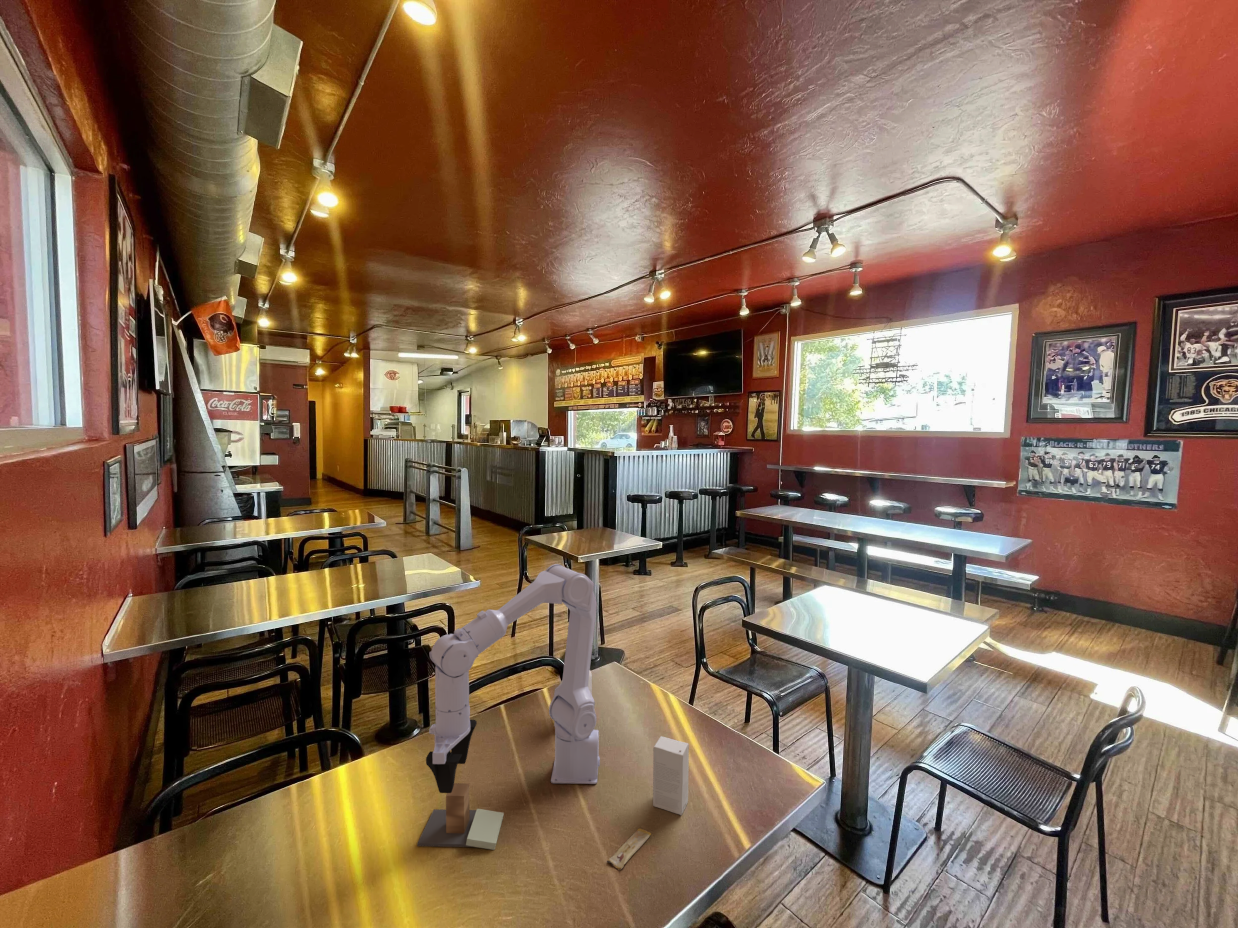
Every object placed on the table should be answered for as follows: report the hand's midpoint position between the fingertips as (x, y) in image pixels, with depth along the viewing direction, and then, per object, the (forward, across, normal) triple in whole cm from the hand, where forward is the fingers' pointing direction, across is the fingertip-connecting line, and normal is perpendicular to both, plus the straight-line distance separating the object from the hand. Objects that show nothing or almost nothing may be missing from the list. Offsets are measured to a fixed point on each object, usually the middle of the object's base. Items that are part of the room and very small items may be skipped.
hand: (453, 776), depth 93 cm
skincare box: (+10, -7, +40) cm, 42 cm away
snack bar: (+10, +4, +32) cm, 34 cm away
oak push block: (+9, 0, +1) cm, 9 cm away
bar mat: (+10, 0, 0) cm, 10 cm away
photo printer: (+10, -36, +19) cm, 42 cm away
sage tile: (+9, +1, +8) cm, 13 cm away
